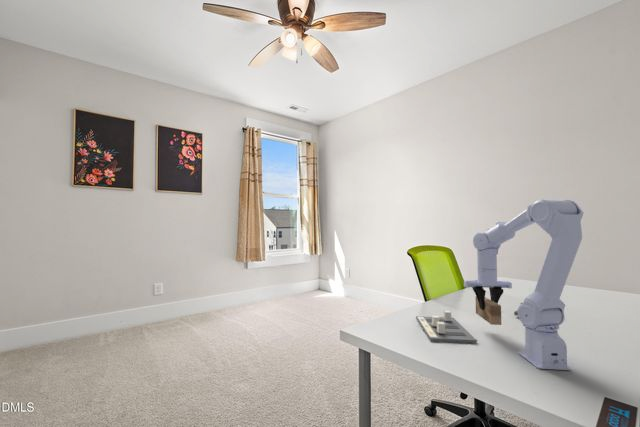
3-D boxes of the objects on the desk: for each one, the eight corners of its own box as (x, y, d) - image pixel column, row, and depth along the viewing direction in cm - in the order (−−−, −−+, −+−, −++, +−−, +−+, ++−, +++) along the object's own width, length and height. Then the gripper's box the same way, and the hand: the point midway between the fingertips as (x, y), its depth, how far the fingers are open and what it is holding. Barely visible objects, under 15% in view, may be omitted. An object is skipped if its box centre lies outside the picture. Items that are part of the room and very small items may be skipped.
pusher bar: (501, 324, 94) (501, 305, 94) (491, 324, 94) (491, 305, 95) (484, 313, 106) (484, 296, 106) (475, 313, 106) (475, 296, 106)
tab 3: (451, 321, 110) (451, 312, 110) (445, 320, 110) (445, 312, 110) (449, 319, 112) (449, 310, 112) (443, 319, 112) (443, 310, 112)
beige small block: (444, 333, 98) (444, 323, 98) (438, 333, 98) (438, 323, 98) (443, 331, 100) (443, 321, 100) (436, 331, 100) (436, 321, 100)
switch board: (476, 343, 93) (476, 339, 93) (430, 341, 95) (430, 337, 95) (453, 320, 115) (453, 317, 115) (416, 318, 116) (416, 315, 117)
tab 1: (439, 326, 104) (439, 317, 104) (433, 326, 104) (433, 317, 104) (437, 324, 106) (437, 315, 106) (431, 324, 106) (431, 315, 106)
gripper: (503, 267, 104) (504, 306, 103) (460, 266, 105) (461, 305, 105) (514, 270, 97) (515, 312, 96) (468, 269, 98) (468, 311, 98)
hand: (487, 309), depth 100 cm, fingers closed on pusher bar, 3 cm apart
